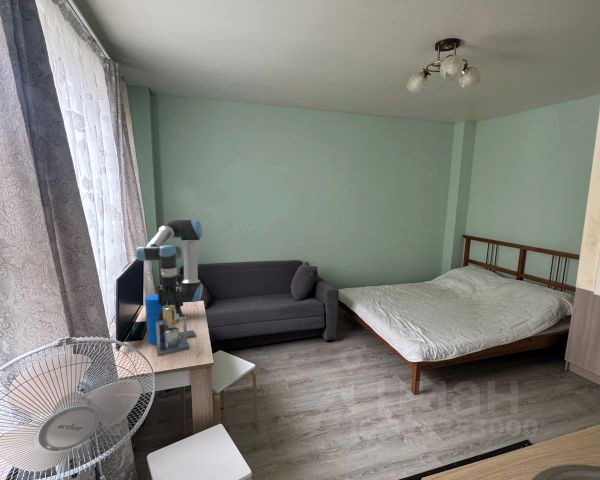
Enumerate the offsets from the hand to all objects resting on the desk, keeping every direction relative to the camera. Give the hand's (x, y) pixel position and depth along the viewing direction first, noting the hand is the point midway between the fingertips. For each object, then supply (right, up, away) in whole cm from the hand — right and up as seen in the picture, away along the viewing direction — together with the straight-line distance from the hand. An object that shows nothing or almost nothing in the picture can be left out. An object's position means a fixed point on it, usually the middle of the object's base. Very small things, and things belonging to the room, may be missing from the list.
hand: (171, 318), depth 159 cm
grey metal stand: (0, -16, +2) cm, 16 cm away
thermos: (-12, -15, +11) cm, 22 cm away
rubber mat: (+2, -14, +17) cm, 22 cm away
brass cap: (0, -3, 0) cm, 3 cm away
